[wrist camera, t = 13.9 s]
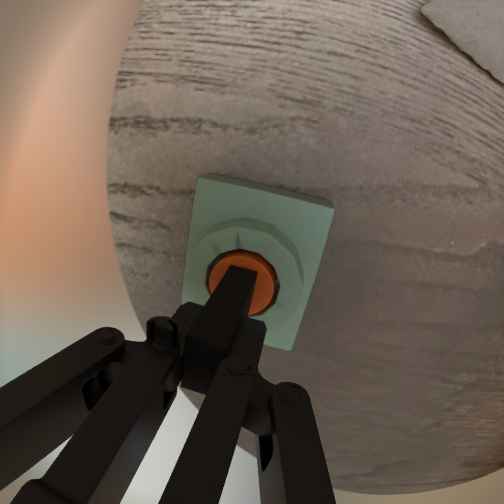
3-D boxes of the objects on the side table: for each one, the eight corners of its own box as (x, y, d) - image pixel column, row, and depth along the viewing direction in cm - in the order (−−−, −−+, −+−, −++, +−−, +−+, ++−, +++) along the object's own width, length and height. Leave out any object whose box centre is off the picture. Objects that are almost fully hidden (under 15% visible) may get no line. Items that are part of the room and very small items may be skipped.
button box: (189, 305, 23) (169, 334, 19) (208, 172, 19) (185, 180, 16) (293, 333, 22) (288, 368, 18) (332, 201, 19) (338, 216, 15)
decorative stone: (539, 102, 13) (564, 101, 10) (426, 73, 14) (451, 61, 11) (517, 12, 11) (537, 4, 8) (399, -30, 12) (415, -51, 9)
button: (213, 292, 19) (204, 306, 18) (222, 238, 18) (213, 248, 16) (269, 307, 19) (265, 322, 17) (283, 254, 18) (280, 265, 16)
